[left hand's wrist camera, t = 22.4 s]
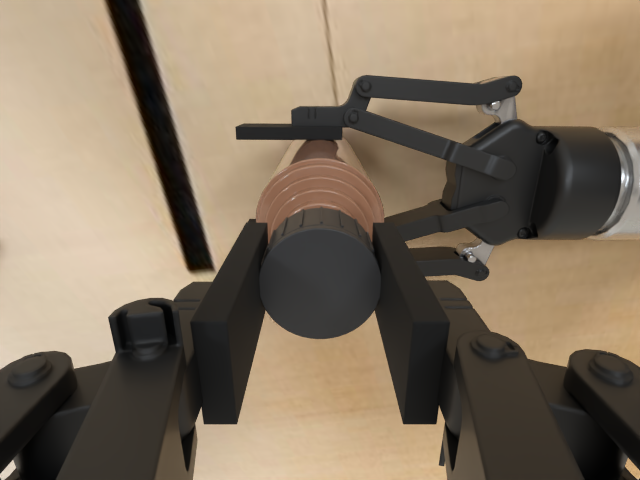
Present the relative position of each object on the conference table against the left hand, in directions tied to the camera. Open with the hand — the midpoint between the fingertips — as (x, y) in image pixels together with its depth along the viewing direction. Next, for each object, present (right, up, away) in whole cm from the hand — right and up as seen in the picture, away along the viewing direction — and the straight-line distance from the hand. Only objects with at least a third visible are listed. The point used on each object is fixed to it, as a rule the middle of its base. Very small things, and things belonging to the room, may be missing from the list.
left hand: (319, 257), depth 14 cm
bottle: (0, +7, +18) cm, 19 cm away
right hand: (-5, +5, +12) cm, 14 cm away
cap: (0, -1, -2) cm, 2 cm away
